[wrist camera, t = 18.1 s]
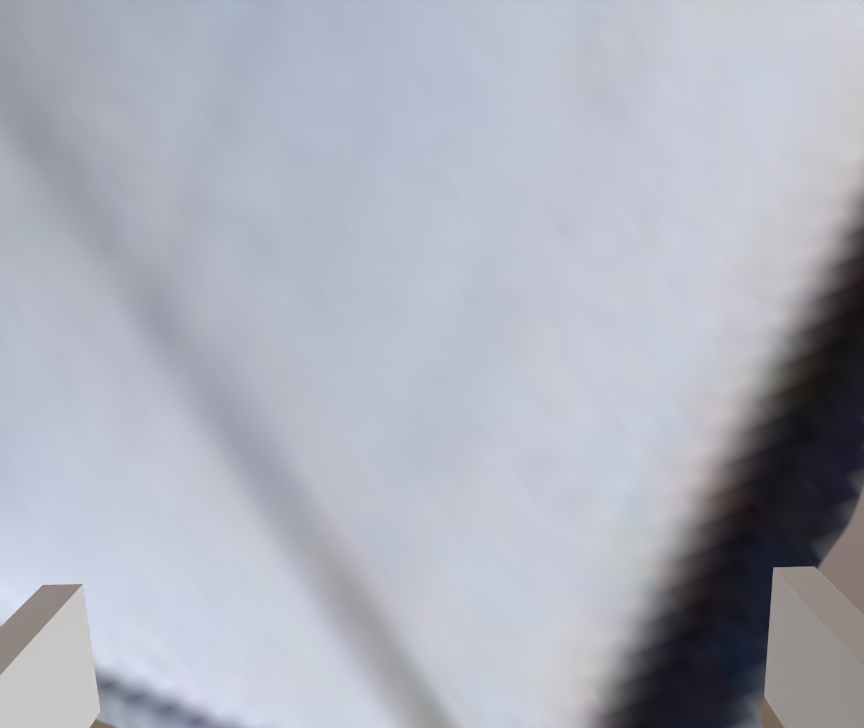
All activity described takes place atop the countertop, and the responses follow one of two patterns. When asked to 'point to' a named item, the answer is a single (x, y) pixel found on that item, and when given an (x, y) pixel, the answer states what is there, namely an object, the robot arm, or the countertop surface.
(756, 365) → the countertop surface
